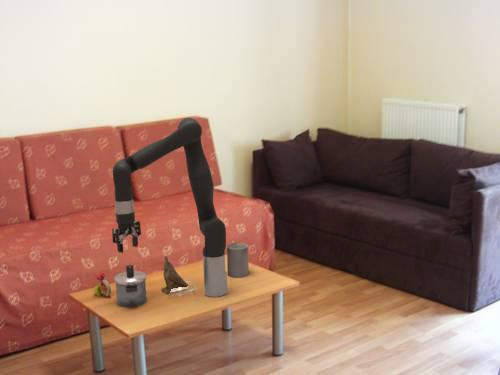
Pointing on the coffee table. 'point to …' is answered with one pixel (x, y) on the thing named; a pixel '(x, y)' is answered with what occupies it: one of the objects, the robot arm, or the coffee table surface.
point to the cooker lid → (130, 276)
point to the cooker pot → (131, 294)
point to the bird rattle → (102, 286)
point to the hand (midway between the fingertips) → (128, 249)
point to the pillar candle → (237, 260)
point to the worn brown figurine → (171, 278)
